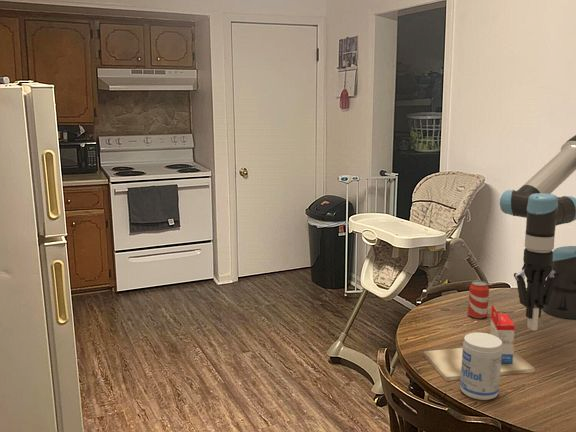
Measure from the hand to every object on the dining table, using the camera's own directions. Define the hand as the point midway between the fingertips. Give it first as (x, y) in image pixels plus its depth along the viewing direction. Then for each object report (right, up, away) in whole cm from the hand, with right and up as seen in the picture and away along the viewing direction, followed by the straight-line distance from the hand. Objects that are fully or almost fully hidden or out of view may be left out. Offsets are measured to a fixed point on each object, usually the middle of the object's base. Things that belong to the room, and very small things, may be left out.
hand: (532, 328), depth 167 cm
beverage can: (-5, -3, +34) cm, 34 cm away
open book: (-16, -10, 0) cm, 19 cm away
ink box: (-9, -9, 0) cm, 13 cm away
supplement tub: (-20, -14, -16) cm, 29 cm away
